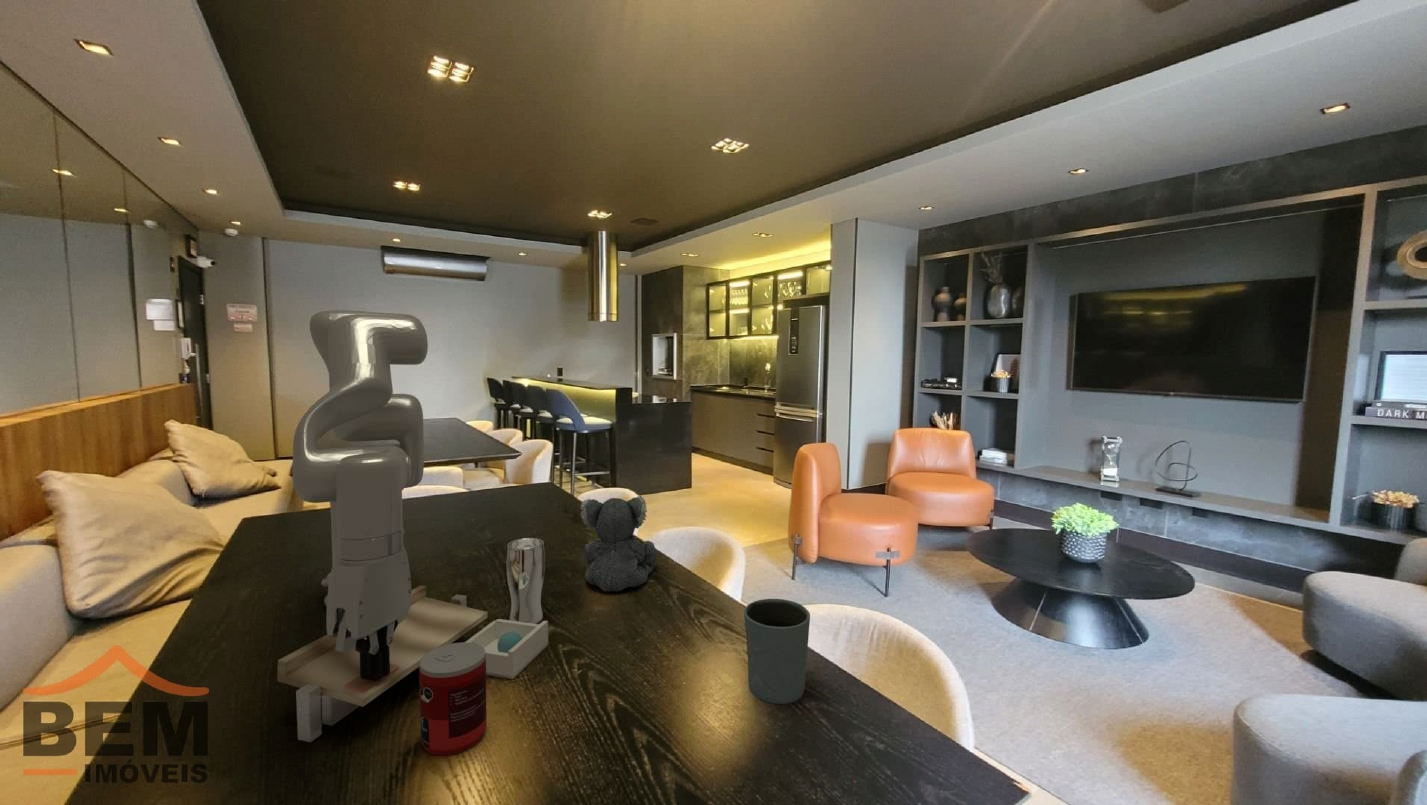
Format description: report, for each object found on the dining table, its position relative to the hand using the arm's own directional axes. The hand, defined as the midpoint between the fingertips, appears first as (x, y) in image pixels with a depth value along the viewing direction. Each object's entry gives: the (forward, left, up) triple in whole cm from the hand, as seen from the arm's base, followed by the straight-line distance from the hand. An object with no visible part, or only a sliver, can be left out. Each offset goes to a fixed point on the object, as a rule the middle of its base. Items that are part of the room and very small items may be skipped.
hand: (375, 675), depth 75 cm
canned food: (+13, -1, -6) cm, 14 cm away
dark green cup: (+53, +21, -6) cm, 57 cm away
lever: (-5, +9, -1) cm, 11 cm away
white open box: (+7, +18, -6) cm, 21 cm away
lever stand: (-5, +9, -6) cm, 12 cm away
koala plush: (+13, +54, -6) cm, 56 cm away
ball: (+9, +18, -4) cm, 21 cm away
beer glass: (+4, +31, -6) cm, 32 cm away
